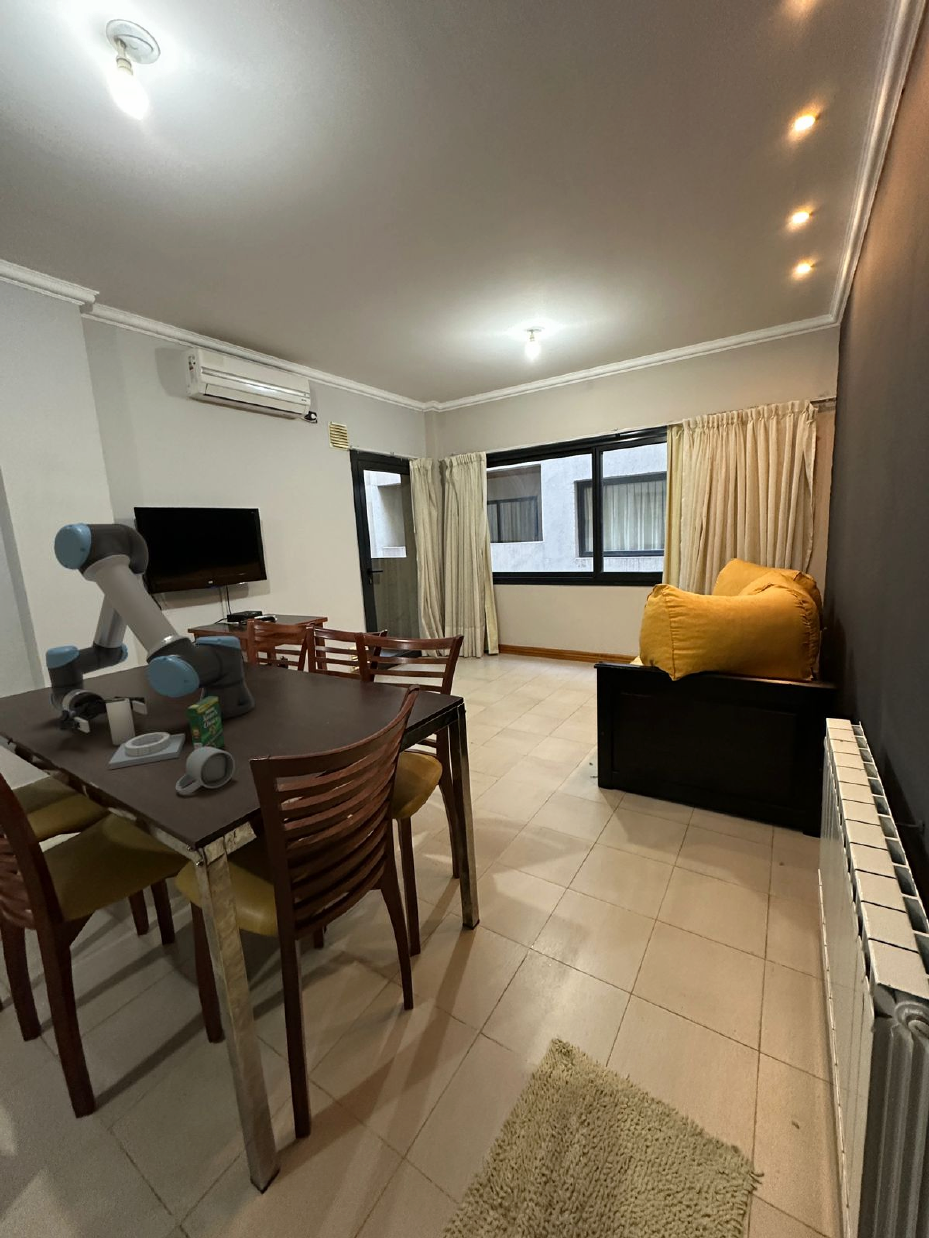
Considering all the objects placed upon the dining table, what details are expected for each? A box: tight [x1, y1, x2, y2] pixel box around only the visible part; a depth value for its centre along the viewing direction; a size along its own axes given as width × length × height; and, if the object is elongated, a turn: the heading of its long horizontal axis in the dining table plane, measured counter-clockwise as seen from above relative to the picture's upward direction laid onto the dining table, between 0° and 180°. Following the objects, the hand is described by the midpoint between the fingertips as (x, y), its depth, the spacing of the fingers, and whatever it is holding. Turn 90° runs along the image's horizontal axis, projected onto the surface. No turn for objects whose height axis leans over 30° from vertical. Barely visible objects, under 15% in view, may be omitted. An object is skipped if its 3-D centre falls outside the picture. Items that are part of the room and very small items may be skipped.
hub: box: [108, 731, 186, 770], centre depth 122 cm, size 14×12×4 cm
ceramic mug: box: [175, 747, 236, 796], centre depth 105 cm, size 11×8×8 cm
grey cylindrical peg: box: [106, 698, 136, 746], centre depth 129 cm, size 5×5×11 cm
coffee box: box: [187, 696, 225, 751], centre depth 120 cm, size 8×3×13 cm, turn 171°
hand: (117, 717), depth 129 cm, fingers open, 13 cm apart
